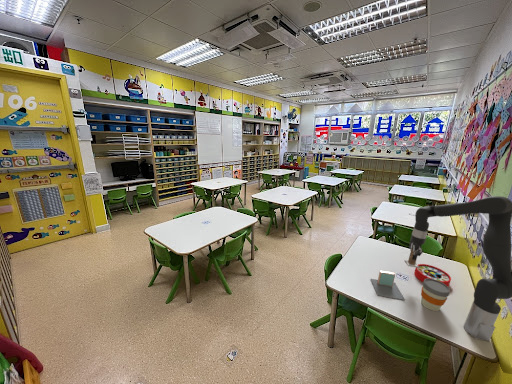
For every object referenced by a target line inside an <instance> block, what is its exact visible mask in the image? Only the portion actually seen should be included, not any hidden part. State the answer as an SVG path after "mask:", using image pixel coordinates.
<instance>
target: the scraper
mask: <svg viewBox="0 0 512 384" xmlns="http://www.w3.org/2000/svg"><path fill="white" fill-rule="evenodd" d="M410 250H411V251H410V253H409V257H408V259H405V260H404V263H405V264H406V266H407V267H410V268H411V267H412V268H418V267H419V266H418V264H417V259H416V260H413V259H412V257H413V254H414V251H413V249H410ZM415 253H416V252H415Z"/></svg>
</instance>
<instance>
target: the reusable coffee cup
mask: <svg viewBox="0 0 512 384" xmlns="http://www.w3.org/2000/svg"><path fill="white" fill-rule="evenodd" d="M421 285H422V287H421V293H420V296H421V298H420V299H421V300H420V301H421V302H420V303H421V304H422V306H424V307H425V308H427V309H429V311H433V312H439V310H440V309H441V307H442V306H444V304H445V303H446V301H447V299H448V297H449V296H450V293H451V290H450V287H448V286H446V285H445V284H444V283H442V282H440V281H437V280H434V279H429V278H428V279H425V280H424V281H423V282H422V284H421Z"/></svg>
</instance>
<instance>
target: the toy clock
mask: <svg viewBox="0 0 512 384" xmlns="http://www.w3.org/2000/svg"><path fill="white" fill-rule="evenodd" d="M417 265H418V266H419V267H418V268H416V267H414V273H413V274H414V276H415V278H416V279H417V280H419V281H420V282H422V283H423V281H424V280H425V279H428V278H429V279H434V280H437V281H440V282H442V283H444V284H445V285H446V286H448V288H450V287H449V286H450V284H451V280H452V277H451V276H450V274H449V273H447V272H446V271H445V270H444V269H441V268H439V267H436V266H434V265H430V264H425V263H419V264H417Z"/></svg>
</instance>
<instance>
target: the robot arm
mask: <svg viewBox="0 0 512 384" xmlns="http://www.w3.org/2000/svg"><path fill="white" fill-rule="evenodd" d="M470 214H483V215H484V214H486V215H487V214H488V224H487V225H488V226H487V228H486V230H485V232H484V235H483V240H482V251H483V254H484V257H485V258H486V259H487V260H488V261H487V262H489V264H490V266H491V267H492V278H481V279H479V280H478V281H477V283H476V286H475V289H474V291H473V301H472V304H471V307H470V309H469V311H468V314H467V317H466V319H465V322H464V323H463V329H464V330H465V331H466V332H467V333H468V334H469V335H471V336H472V337H473V338H474V339H477V340H480V341H481V340H482V341H487V342H490V340H491V339H492V336H493V334H494V331H495V329H496V326H495V323H496V322H497V319H498V317H499V315H500V313H501V310H502V308H501V306H500V305H499V303H498V302H496V301H497V300H508V299H511V298H512V262H511V261H512V257H511V256H512V232H511V221H512V200H511V199H509V198H507V197H505V196H500V195H498V196H497V195H492V196H488V197H485V198H481V199H477V200H472V201H467V202H457V203H456V202H455V203H446V204H440V205H429V206H428V205H427V206H423V207H419V208H418V209H416V211H415V216H414V217H415V223H414V228H413V230H412V232H411V236H410V240H409V248H408V249H409V251H410V252H411V249H413V251H414V254H413V257H412V259H413V260H416V261H417V258H418V257H420V256H421V255H422V254H423V252H424V249H422V246H423V245H424V244H425V243H426V240H427V235H428V230H429V227H430V223H429V222H428V219H429V218H433V217H454V216H462V215H470ZM415 252H416V253H415Z"/></svg>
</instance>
